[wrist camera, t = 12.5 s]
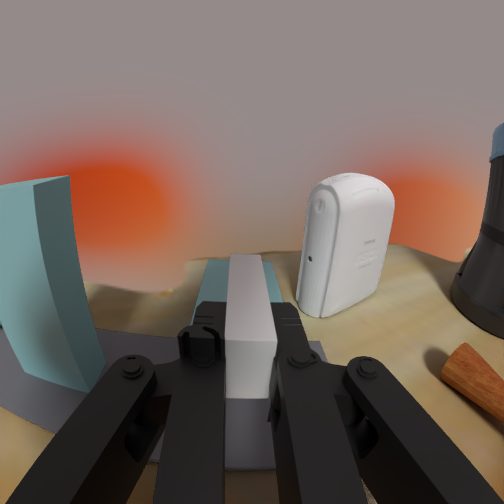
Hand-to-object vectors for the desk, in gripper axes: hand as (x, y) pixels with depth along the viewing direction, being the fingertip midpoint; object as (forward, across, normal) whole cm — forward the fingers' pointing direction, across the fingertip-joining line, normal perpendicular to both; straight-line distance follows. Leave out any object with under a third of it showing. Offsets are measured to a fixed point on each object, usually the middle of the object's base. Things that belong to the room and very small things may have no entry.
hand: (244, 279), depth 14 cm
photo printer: (+10, +10, -7) cm, 16 cm away
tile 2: (-2, -12, -7) cm, 14 cm away
